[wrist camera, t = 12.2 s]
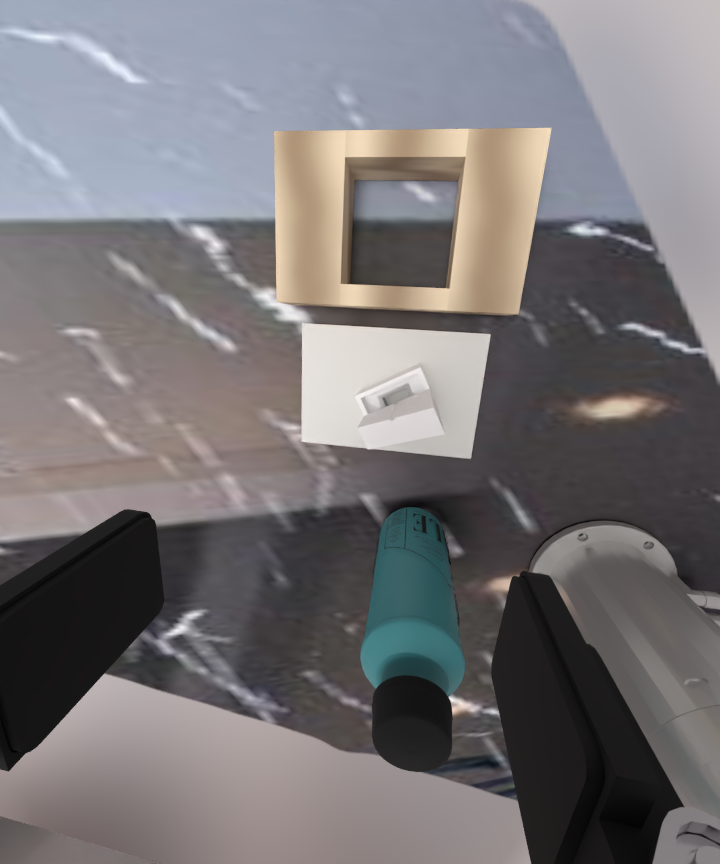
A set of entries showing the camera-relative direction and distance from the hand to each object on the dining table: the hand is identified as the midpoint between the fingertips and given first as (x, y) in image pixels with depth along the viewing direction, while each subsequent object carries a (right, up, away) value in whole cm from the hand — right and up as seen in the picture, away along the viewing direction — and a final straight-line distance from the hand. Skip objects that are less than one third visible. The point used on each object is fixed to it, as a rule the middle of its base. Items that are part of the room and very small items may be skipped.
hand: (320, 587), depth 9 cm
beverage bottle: (+6, -5, +27) cm, 28 cm away
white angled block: (+4, +7, +23) cm, 24 cm away
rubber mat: (+4, +8, +23) cm, 25 cm away
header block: (+4, +20, +19) cm, 28 cm away
